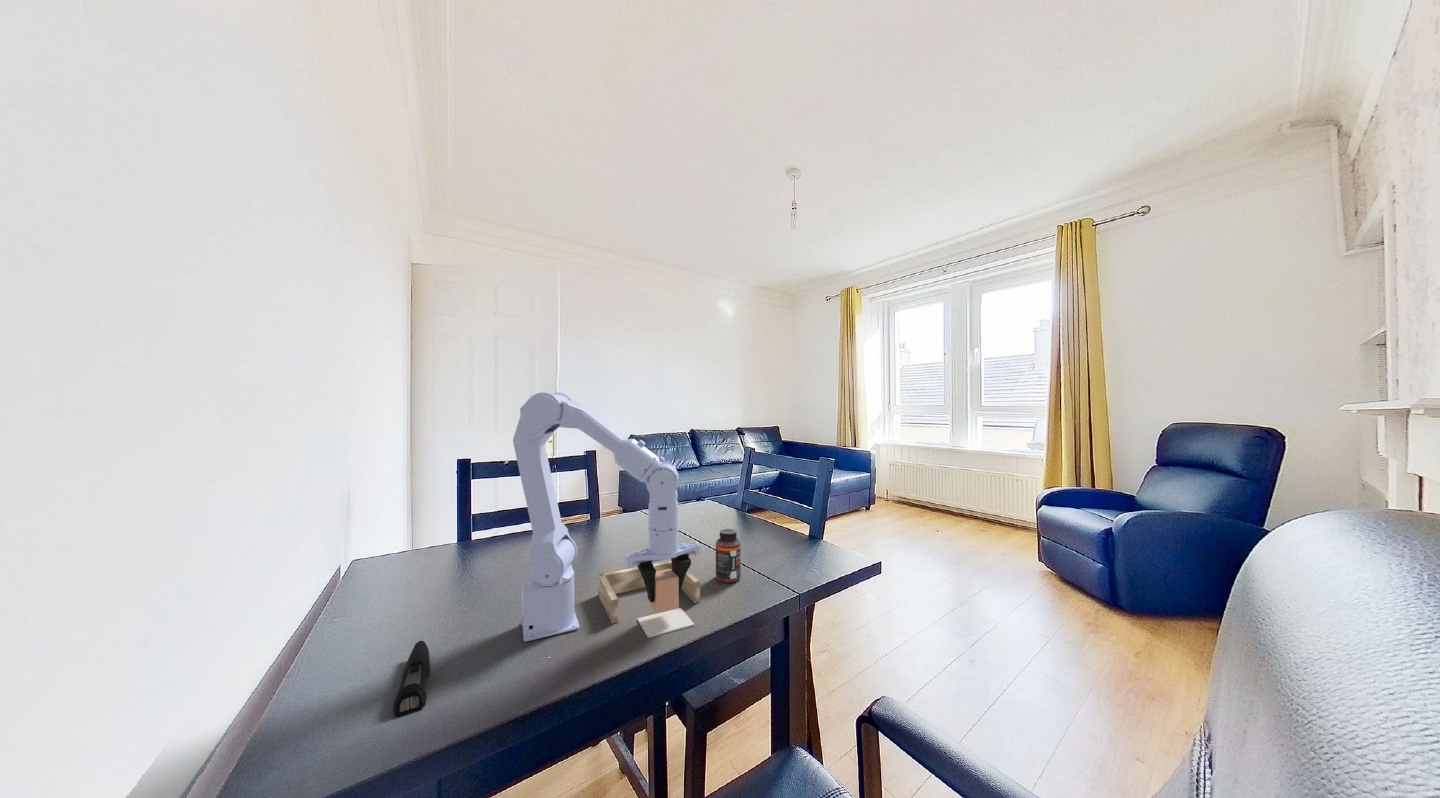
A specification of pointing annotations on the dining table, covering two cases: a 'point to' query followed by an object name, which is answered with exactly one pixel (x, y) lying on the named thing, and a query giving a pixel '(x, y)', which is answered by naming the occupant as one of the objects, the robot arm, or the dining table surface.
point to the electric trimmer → (413, 682)
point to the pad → (665, 622)
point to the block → (666, 591)
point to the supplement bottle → (728, 556)
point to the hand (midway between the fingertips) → (664, 597)
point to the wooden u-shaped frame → (636, 586)
